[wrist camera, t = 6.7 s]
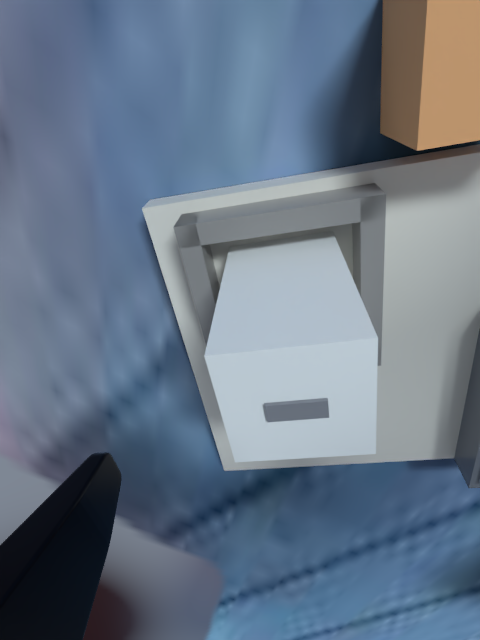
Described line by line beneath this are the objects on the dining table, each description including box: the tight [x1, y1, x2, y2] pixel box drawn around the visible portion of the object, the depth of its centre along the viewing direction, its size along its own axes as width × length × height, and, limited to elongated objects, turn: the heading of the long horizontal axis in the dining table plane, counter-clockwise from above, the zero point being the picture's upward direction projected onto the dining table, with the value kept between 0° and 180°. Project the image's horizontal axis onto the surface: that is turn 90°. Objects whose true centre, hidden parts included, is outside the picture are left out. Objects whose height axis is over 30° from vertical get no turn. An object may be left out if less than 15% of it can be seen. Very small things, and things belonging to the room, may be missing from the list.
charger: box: [204, 231, 378, 462], centre depth 13 cm, size 4×4×7 cm
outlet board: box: [142, 144, 480, 471], centre depth 17 cm, size 20×16×3 cm
